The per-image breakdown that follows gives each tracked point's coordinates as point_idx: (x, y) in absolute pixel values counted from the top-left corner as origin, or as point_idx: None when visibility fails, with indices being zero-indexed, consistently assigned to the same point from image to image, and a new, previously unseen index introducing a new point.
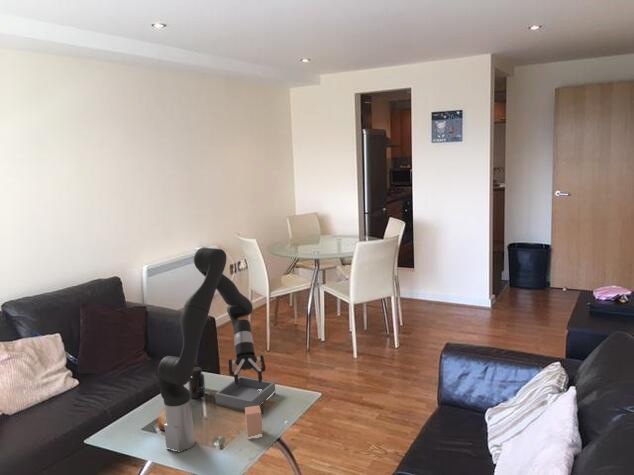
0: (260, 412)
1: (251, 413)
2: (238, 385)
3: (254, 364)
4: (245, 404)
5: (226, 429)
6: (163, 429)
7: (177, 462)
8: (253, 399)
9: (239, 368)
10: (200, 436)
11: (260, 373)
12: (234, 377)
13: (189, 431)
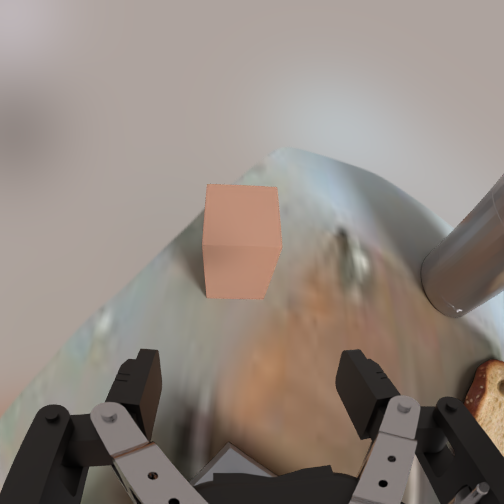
0: (210, 184)
1: (252, 187)
2: (338, 374)
3: (152, 487)
4: (258, 465)
5: (337, 338)
6: (502, 361)
7: (431, 213)
8: (214, 465)
9: (383, 438)
10: (413, 314)
11: (117, 400)
12: (396, 391)
13: (451, 233)
